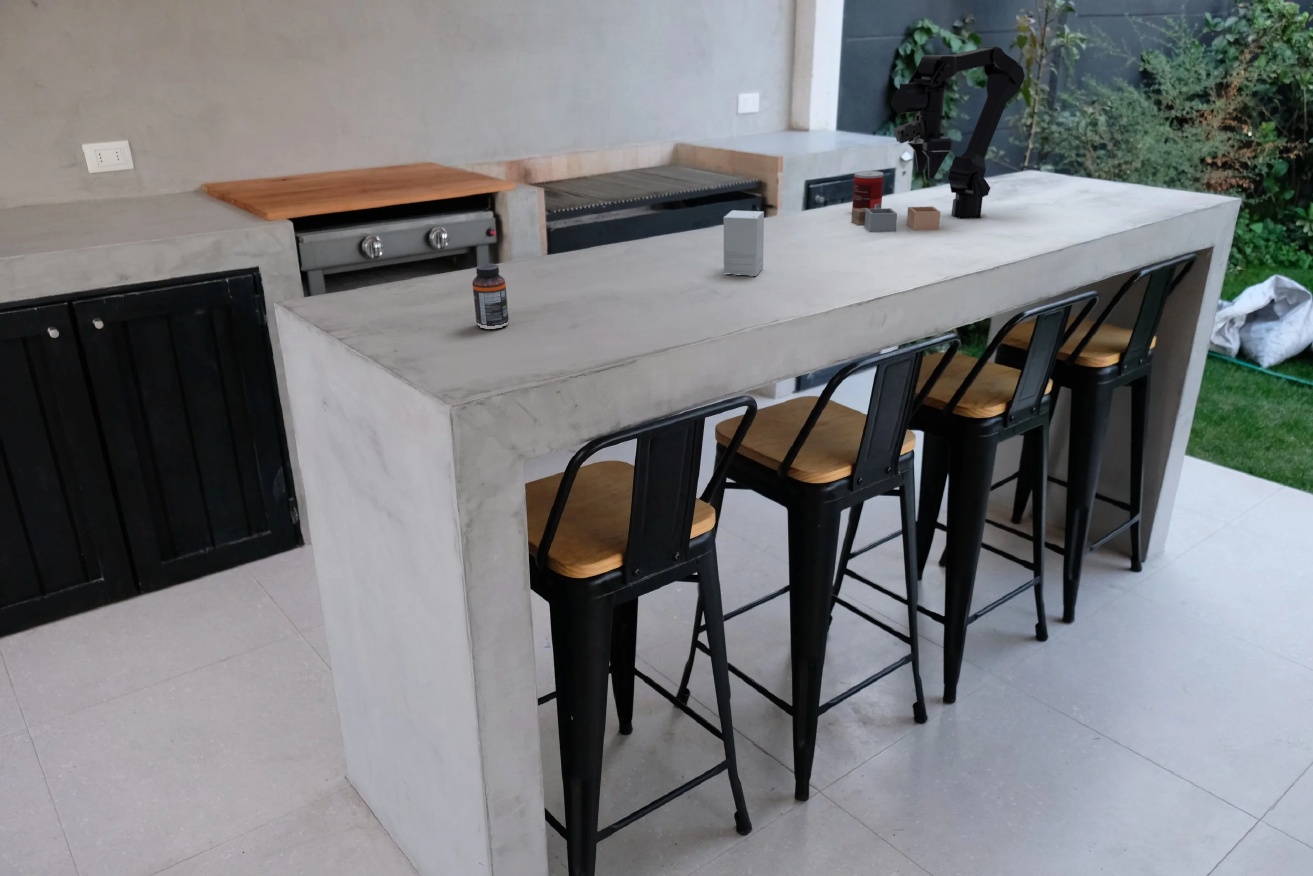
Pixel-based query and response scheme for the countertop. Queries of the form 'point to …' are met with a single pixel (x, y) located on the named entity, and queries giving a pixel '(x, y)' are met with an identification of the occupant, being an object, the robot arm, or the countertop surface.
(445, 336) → the countertop surface
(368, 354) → the countertop surface
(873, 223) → the grey open square bin
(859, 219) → the walnut block
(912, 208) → the pot
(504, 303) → the supplement bottle
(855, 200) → the canned food
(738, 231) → the supplement box
